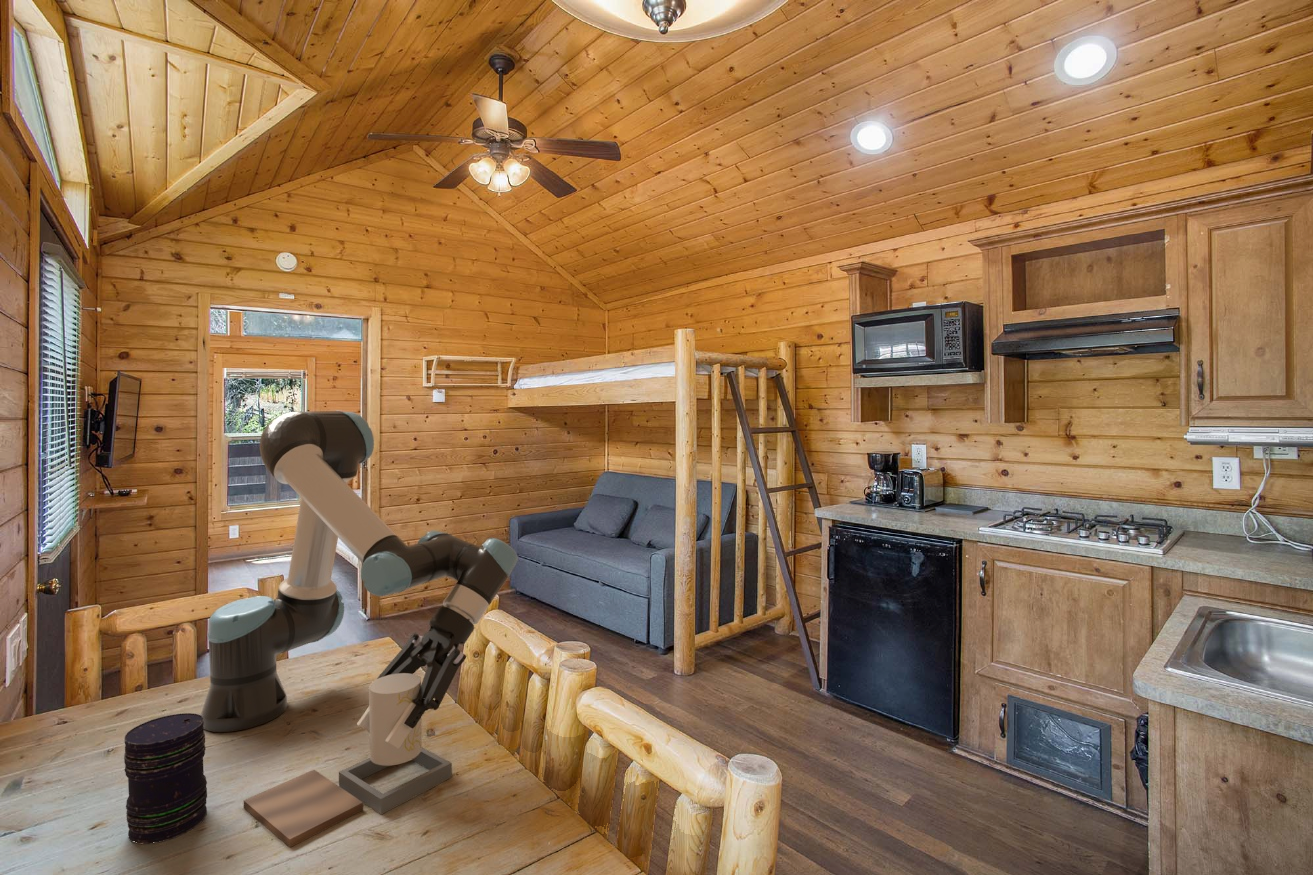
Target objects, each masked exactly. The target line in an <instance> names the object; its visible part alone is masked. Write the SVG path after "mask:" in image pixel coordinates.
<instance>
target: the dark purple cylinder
mask: <svg viewBox="0 0 1313 875" xmlns="http://www.w3.org/2000/svg"><path fill="white" fill-rule="evenodd" d="M203 725H204V719H203V717H202V716H201V714H198V713H192V712H190V713H189V712H186V713H185V712H184V713H177V714H176V713H175V714H169V715H165V716H160V717H157V718H153V719H151V720H148V721H145V722H143V723H141V724H138V725H137V726H135V727H133V728H131V729H130V730H129V731H127V733H125V735H124V755H123V759H124V760H123V761H124V773H125V776H126V778H127V784H128V785H127V787H128V796H127V798H126V804H125V809H126V813H125V814H126V822H127V828H128V833H127V834H128V836H129V837H128V840H129V839H130V840H132V841H135V842H137V843H153V842H158V843H160V842H159V841H162V842H164V841H163V840H166V841H169V840H173V839H175V838H177V837H179V836H181V835H184V834H186V833H188V832H189V831H191V830H193V829H194V828H196V827H198V826H199V824H201V823H202V822H203V821H204V820H205V818H206V816H207V813H208V810H207V809H208V808H207V798H208V787H207V784H208V782H207V777H206V775H205V773H204V756H205V754H206V750H207V749H206V748H207V747H206V745H205V744H206V734H205V729H204V727H203ZM130 840H129V841H130ZM153 844H154V843H153Z"/></svg>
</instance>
